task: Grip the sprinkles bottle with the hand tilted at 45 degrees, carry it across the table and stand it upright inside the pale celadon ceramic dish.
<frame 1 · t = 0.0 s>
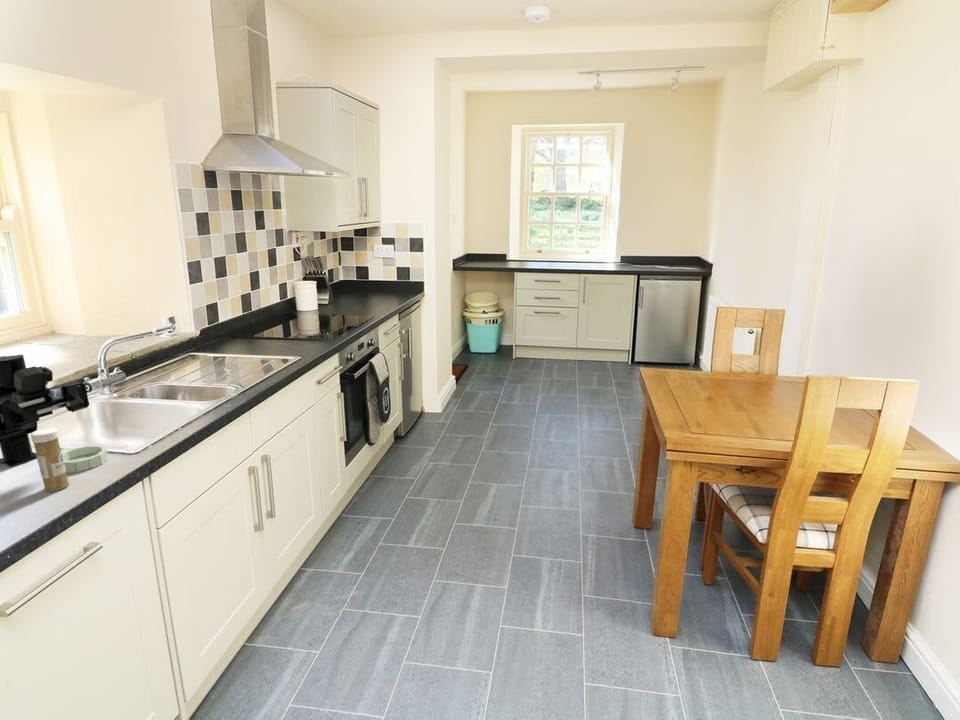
hand: (61, 411, 126), 17 cm above the worktop, tool horizontal, fingers open, 9 cm apart
dish: (84, 462, 139), on the worktop
sprinkles bottle: (57, 488, 127), on the worktop
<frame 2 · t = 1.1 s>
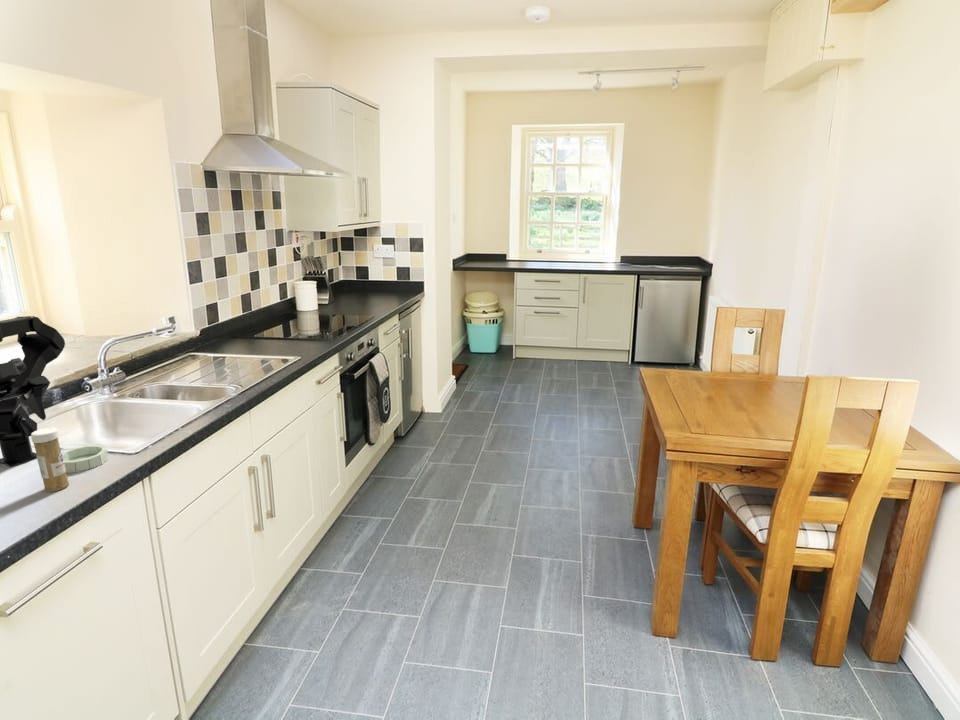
hand: (22, 425, 127), 14 cm above the worktop, tool tilted 45°, fingers open, 9 cm apart
nothing on the worktop moved.
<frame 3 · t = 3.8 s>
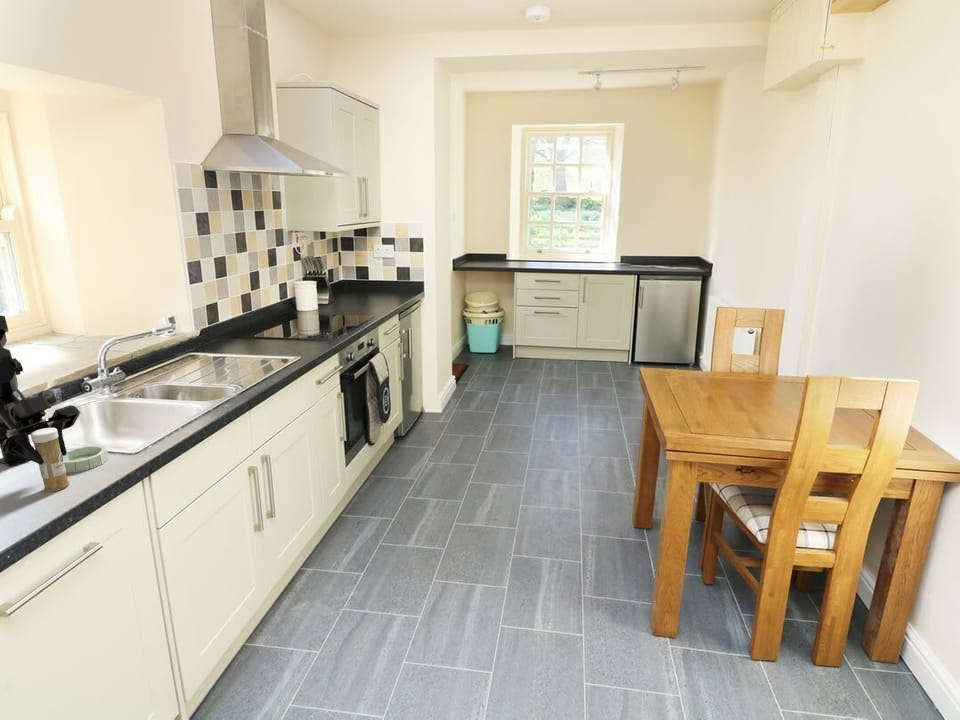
hand: (54, 458, 125), 7 cm above the worktop, tool tilted 45°, fingers closed on sprinkles bottle, 4 cm apart
sprinkles bottle: (57, 488, 127), on the worktop, touching gripper
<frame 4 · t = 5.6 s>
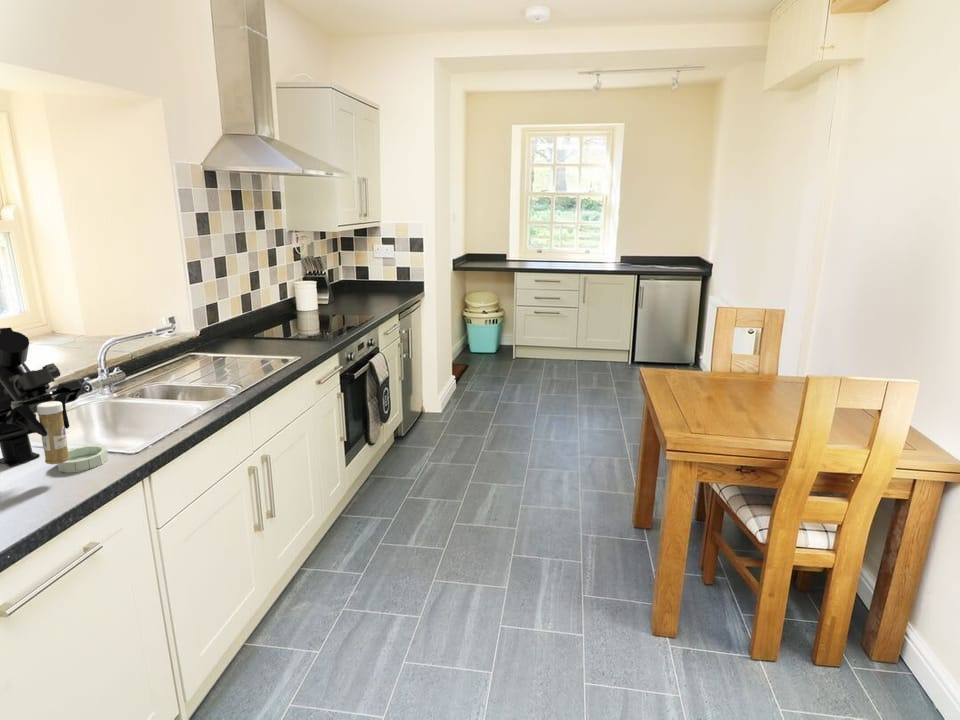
hand: (57, 431, 127), 12 cm above the worktop, tool tilted 45°, fingers closed on sprinkles bottle, 4 cm apart
sprinkles bottle: (57, 461, 130), point 5 cm above the worktop, touching gripper
when the fingers open (9 cm above the worktop, at t = 7.3 s): sprinkles bottle moves 1 cm, resting on dish.
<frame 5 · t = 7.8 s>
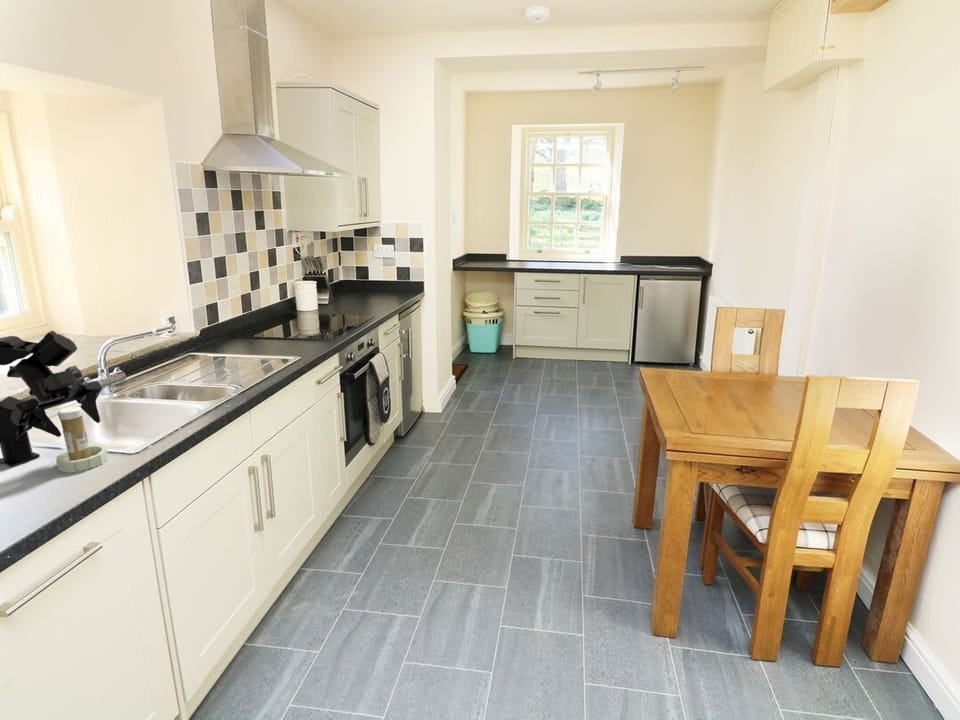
hand: (80, 428, 137), 9 cm above the worktop, tool tilted 45°, fingers open, 9 cm apart
sprinkles bottle: (81, 462, 139), resting on dish
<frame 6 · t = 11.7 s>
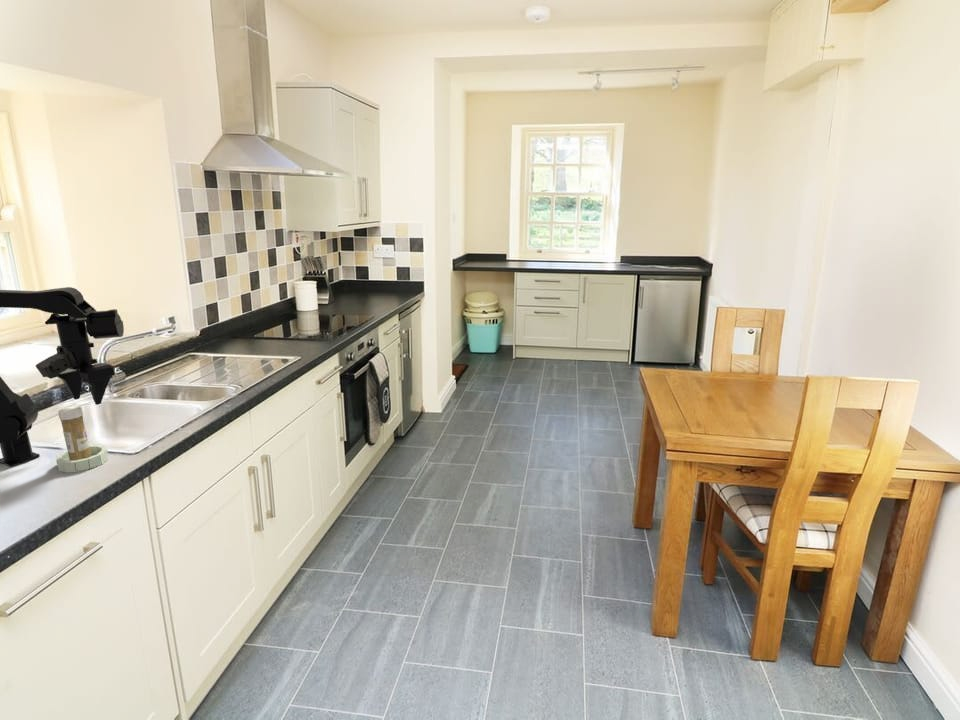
hand: (87, 401, 143), 13 cm above the worktop, tool pointing down, fingers open, 9 cm apart
nothing on the worktop moved.
at the end: sprinkles bottle 0.4 cm off-centre on the dish, point 0.3 cm above the dish's base; sprinkles bottle tilted 1°; the gripper is holding nothing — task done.
